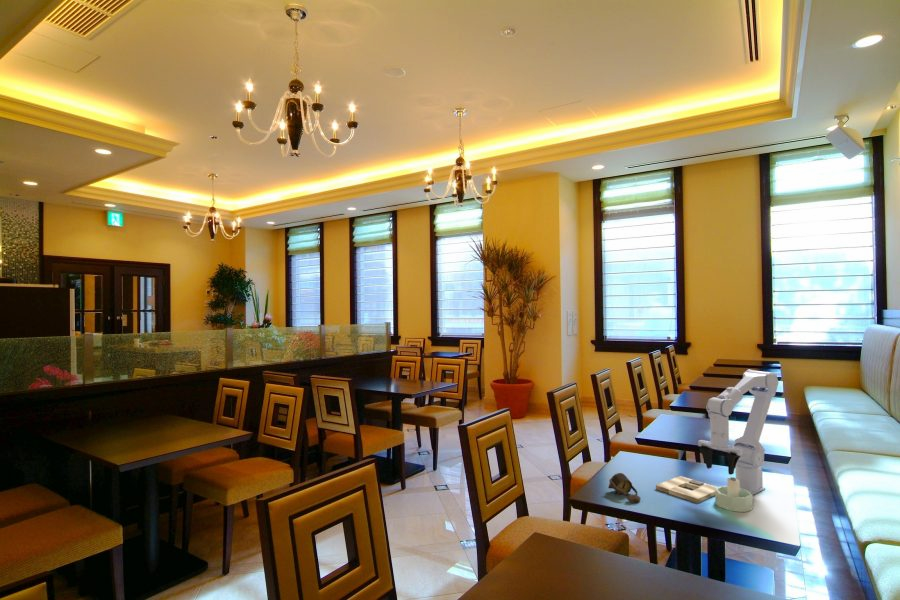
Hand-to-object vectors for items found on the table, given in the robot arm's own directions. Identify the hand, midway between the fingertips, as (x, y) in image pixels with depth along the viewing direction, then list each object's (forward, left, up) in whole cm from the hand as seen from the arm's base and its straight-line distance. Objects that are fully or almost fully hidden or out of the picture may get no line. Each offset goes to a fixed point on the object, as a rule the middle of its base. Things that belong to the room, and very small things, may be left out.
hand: (720, 470), depth 178 cm
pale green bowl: (+3, +6, -9) cm, 12 cm away
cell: (+3, +6, -9) cm, 11 cm away
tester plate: (+3, -10, -9) cm, 14 cm away
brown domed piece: (+26, -21, -10) cm, 35 cm away
